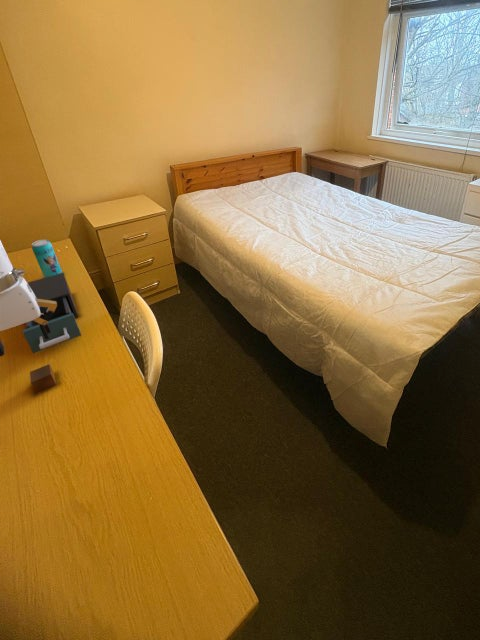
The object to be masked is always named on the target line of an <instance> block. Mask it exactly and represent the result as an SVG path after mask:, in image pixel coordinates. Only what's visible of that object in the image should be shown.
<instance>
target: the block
mask: <svg viewBox="0 0 480 640" xmlns="http://www.w3.org/2000/svg"><path fill="white" fill-rule="evenodd" d="M29 376H30V377H29V378H30V384H31V386H32V388H33V389H34V391H35V393H36V394H39V393H42V392H44V391H46V390H49V389H51V388H53V387H55V386H57V381H56V375H55V372H54V371H53V368H52V366H51V364H50V363H47V364H45V365H43V366H40V367H38V368H36V369H34V370H31V371H29Z"/></svg>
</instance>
